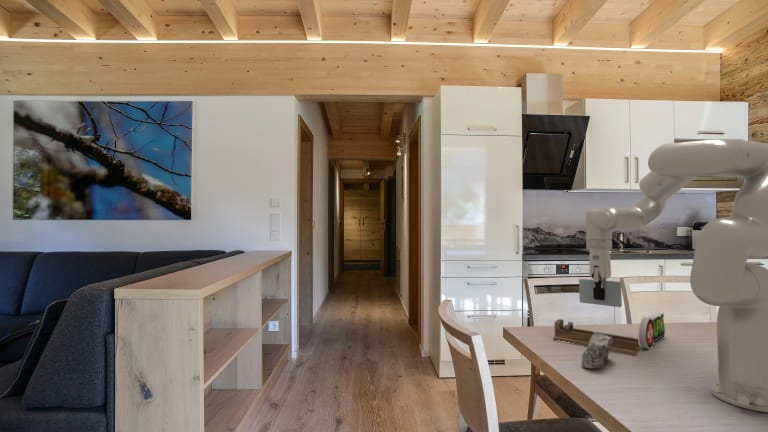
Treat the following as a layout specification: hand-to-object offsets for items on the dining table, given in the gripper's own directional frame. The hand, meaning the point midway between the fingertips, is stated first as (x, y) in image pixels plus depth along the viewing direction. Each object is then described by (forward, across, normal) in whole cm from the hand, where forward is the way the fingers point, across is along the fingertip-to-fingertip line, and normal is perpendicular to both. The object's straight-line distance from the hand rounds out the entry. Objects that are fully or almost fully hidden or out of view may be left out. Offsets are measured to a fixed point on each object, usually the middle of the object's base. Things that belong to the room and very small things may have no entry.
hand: (600, 298), depth 121 cm
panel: (+2, 0, 0) cm, 2 cm away
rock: (+16, -20, -2) cm, 26 cm away
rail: (+16, 0, +2) cm, 16 cm away
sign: (+16, +13, -13) cm, 24 cm away
